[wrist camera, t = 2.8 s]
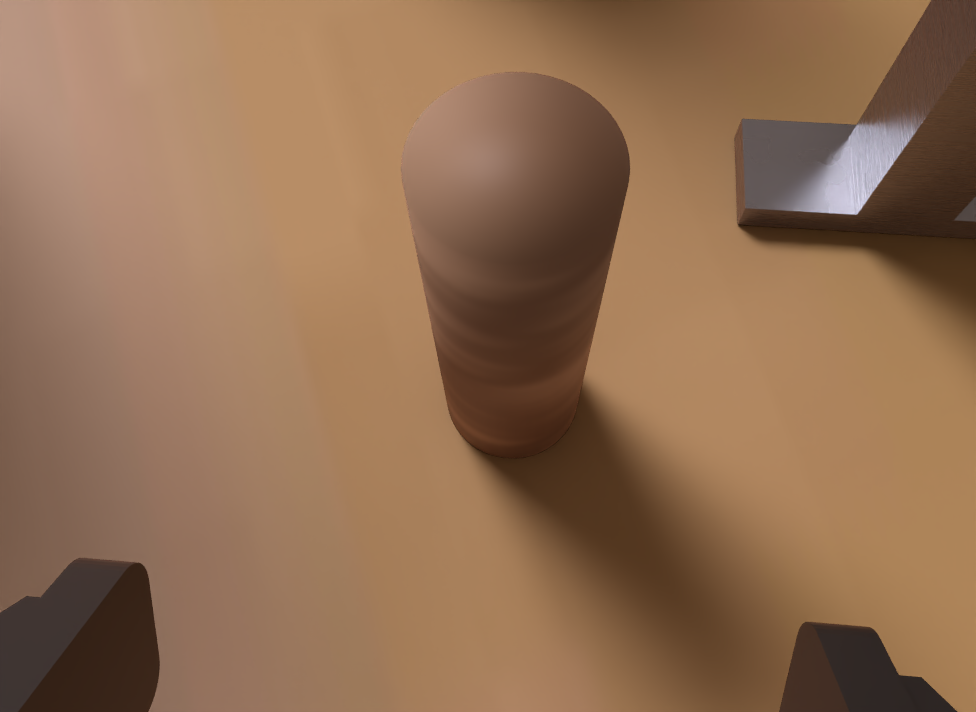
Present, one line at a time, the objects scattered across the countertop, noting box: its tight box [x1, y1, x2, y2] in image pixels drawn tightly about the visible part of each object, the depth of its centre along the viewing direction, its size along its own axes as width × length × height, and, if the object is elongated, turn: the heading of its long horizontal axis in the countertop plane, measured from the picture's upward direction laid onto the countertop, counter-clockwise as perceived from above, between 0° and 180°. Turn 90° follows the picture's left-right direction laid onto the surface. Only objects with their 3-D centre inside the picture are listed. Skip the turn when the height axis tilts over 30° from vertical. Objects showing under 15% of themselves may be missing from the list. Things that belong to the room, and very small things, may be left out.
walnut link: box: [401, 72, 630, 458], centre depth 20 cm, size 4×4×12 cm
